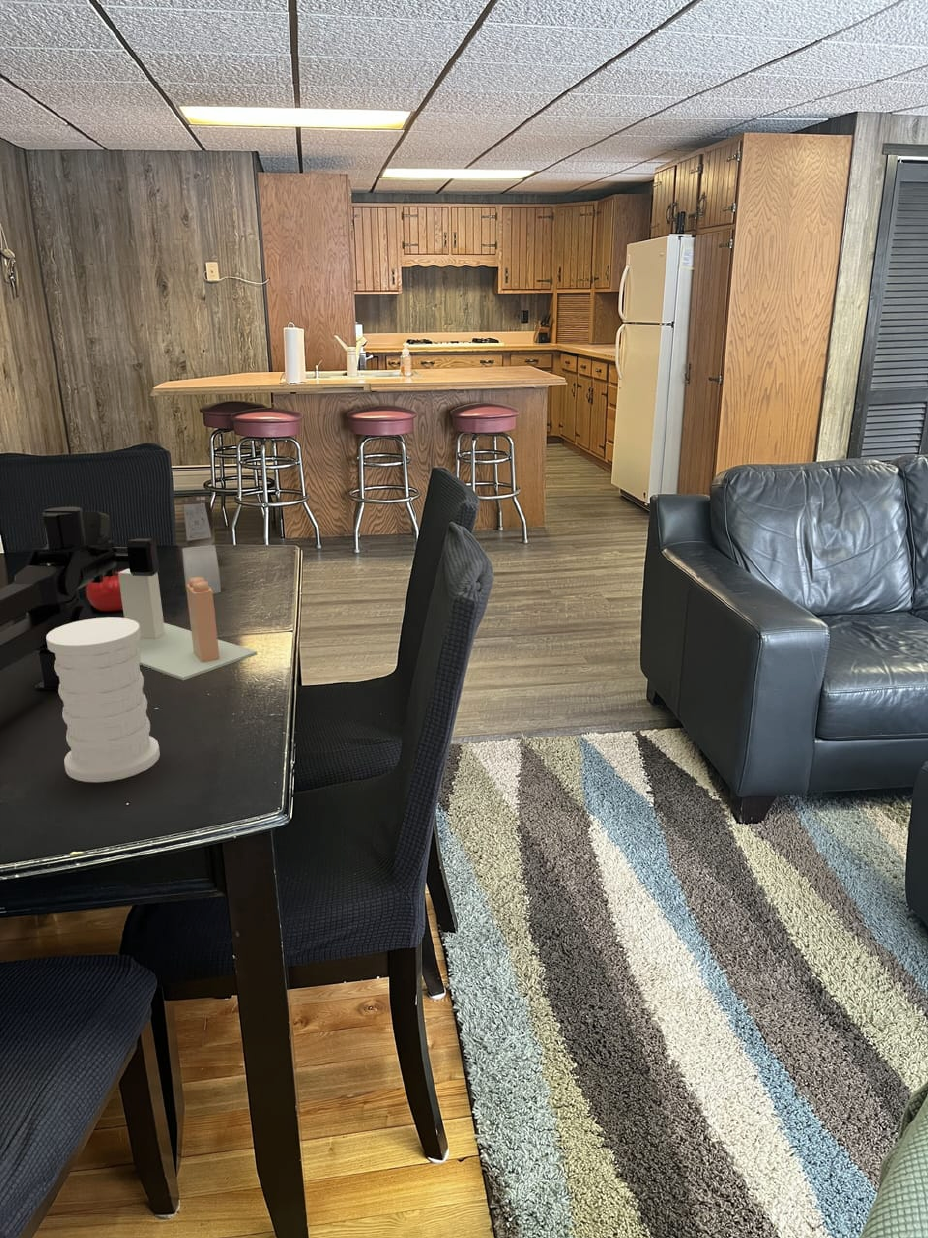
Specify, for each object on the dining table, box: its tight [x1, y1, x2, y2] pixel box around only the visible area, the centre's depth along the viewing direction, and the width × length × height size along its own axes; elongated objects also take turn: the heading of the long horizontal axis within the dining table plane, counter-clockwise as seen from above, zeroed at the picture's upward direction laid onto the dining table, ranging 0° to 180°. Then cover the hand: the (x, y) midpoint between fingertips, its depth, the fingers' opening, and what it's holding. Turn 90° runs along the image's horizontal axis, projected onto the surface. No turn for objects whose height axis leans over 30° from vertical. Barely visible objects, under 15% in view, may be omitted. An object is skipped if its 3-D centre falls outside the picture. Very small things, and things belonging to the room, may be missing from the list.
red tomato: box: [85, 568, 126, 613], centre depth 179 cm, size 10×10×9 cm
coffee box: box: [181, 495, 216, 548], centre depth 210 cm, size 9×6×16 cm
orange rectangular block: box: [185, 577, 220, 662], centre depth 150 cm, size 3×6×13 cm, turn 28°
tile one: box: [118, 568, 165, 639], centre depth 160 cm, size 3×6×13 cm, turn 76°
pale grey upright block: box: [181, 544, 222, 594], centre depth 189 cm, size 4×7×10 cm, turn 113°
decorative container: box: [46, 616, 161, 783], centre depth 113 cm, size 12×12×18 cm
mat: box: [136, 622, 258, 681], centre depth 156 cm, size 15×29×1 cm, turn 52°
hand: (126, 545), depth 160 cm, fingers open, 9 cm apart
